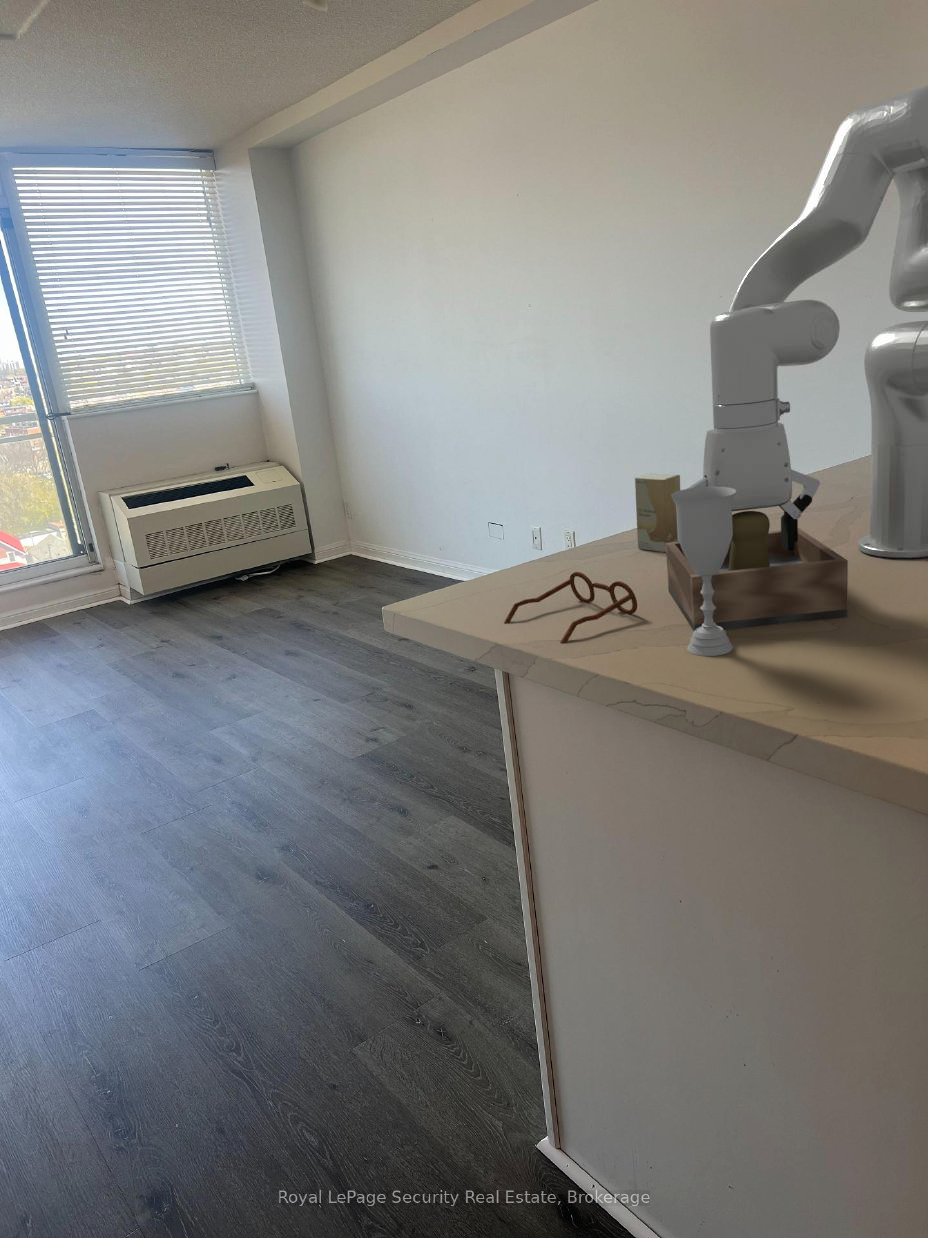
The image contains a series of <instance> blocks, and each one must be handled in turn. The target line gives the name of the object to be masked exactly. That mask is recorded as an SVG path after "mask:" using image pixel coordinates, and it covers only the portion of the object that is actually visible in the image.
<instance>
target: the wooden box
mask: <svg viewBox="0 0 928 1238" xmlns="http://www.w3.org/2000/svg"><path fill="white" fill-rule="evenodd" d="M765 539H766V545H767V551H768V557H769V563H770V566H769V567H760V568H751V569H741V570H732V571H729V561H730V551H731V542H730V546H729V549H728V553H727V555H726V557H725V559H724V562H723V564H722V566H721V568H720V571H719V572H718V573H716V574H714V575H712V578H711V584H712V588H713V590H714V591H715V593H714V594H713V596H712V602H713V605H714V606H715V607H716V609H715V610H714V611H713V617H712V618H713V621H714V623H715V624H716V626H720V627H722V628H723V629H724V630H725V631H726V630H735V629H741V628H742V629H744V628H745V629H746V628H753V627H763V626H764V627H765V626H774V625H782V624H783V625H784V624H792V623H802V622H813V621H822V620H832V619H842V618H848V594H849V593H848V589H849V588H848V579H849V578H848V576H849V574H848V571H849V570H848V568H849V567H848V566H849V565H848V564H849V563H848V562H849V560H848V559H846V557H843V556H841V554H839V553H837V552H836V551H834V550H833V549H831V548H830V547H828V546H827V545H826V544H823V543H822V541H821V542H820V541H819V540H818V539H816V538H814V537H813V536H812V535H810V534H809V533H807V532H805V531H804V530H802V529H801V528H800V527H798V541H797V542H794V550H793V551H789V550H787V549H786V548H784V547H783V546H782V545H781V529H780V530H772V531H770V530H769V532H768V534H767V536H766V537H765ZM731 541H732V539H731ZM665 553H666V569H667V570H666V571H667V572H666V573H667V589H668V593H669V594H670V596H671V598H672V599H673V600H674V601H673V602H675V603H676V605H677V607H678V609H679V610H680V612H681V613H682V615H683V617H684V618H685V620H686V621H687V623H688V625H689V626H690V627H691V629H692V631H693V632H694V631H695V630H696V629H697V628H698V627H701V626H702V624H703V623H704V620H705V616H704V612H703V611H702V610H701V609H700V608H701V606H702V605H703V603H704V598H703V595H702V594H701V593H700V592H701V590H702V587H703V579H702V576H701V575H698V574H695V573H694V571H693V569H692V568H691V566H690V564H689V562H688V560H687V558H686V557H685V555H684V553H683V550H682V548H681V545H680V542H671V543H666V552H665Z"/></svg>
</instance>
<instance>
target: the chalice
mask: <svg viewBox="0 0 928 1238" xmlns="http://www.w3.org/2000/svg"><path fill="white" fill-rule="evenodd" d="M735 492H736V490H735V489H733V488H729V487H697V488H690V489H687V488H684V489H680V491H677V492H674V493H672V495H671V497H672V498H673V500H674V502H675V504H676V513H677V532H678V540H679V542H680V545H681V548H682V550H683V553H684V555H685V557H686V558H687V560H688V562H689V564H690V566H691V568H692V569H693V571H694V573H695V574H698V575H701V576H702V579H703V587H702V590H701V592H700V593H701V594H702V595H703V598H704V603H703V605H702V606H701V608H700V609H701V610H702V611H703V612H704V616H705V620H704V623H703V624H702V626H701V627H698V628H697V629H696V630H695V631H693V633H692V637H691V638H690V640H689V641H690V643H689V645H688V646H687V652H689V653H691V654H694V655H697V656H703V657H712V656H713V657H714V656H720V655H724V654H727V653H730V652H731V651H733V649H734V646H733V645H732V644H731V642H730V638H729V637H728V635H727V632H726V630H724V629H723V628H722V627H720V626H716V624H715V623H714V621H713V618H712V617H713V611H714V610H715V609H716V607H715V606H714V605H713V602H712V596H713V594H714V593H715V591H714V590H713V588H712V584H711V578H712V575H714V574H716V573H718V572H719V571H720V568H721V566H722V564H723V562H724V559H725V557H726V555H727V553H728V549H729V546H730V542H731V539H732V536H733V526H732V515H733V511H732V499H733V497H734V495H735Z"/></svg>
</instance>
